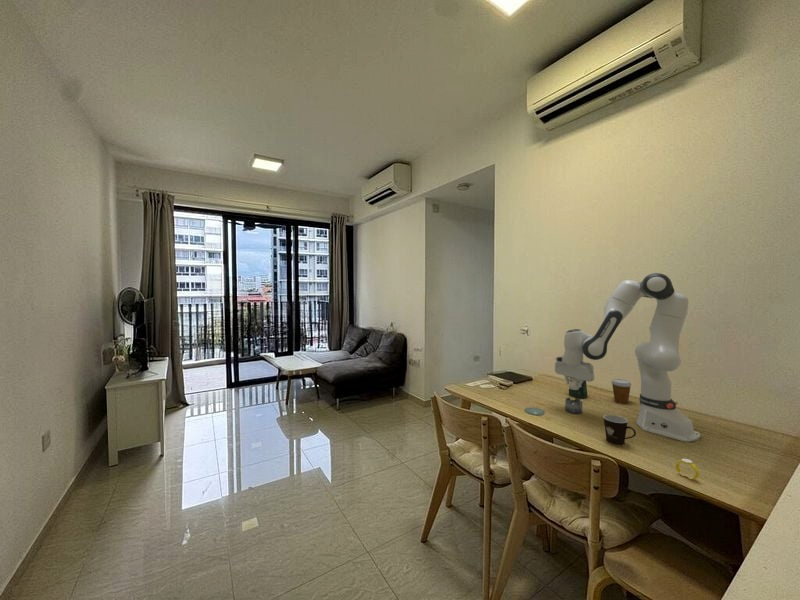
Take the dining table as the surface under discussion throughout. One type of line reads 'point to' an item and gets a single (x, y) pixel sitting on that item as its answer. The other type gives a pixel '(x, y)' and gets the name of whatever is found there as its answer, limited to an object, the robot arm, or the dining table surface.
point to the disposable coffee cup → (621, 390)
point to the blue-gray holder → (573, 406)
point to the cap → (573, 383)
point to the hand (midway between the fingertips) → (573, 385)
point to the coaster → (534, 411)
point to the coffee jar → (579, 391)
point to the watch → (687, 463)
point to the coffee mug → (616, 429)
